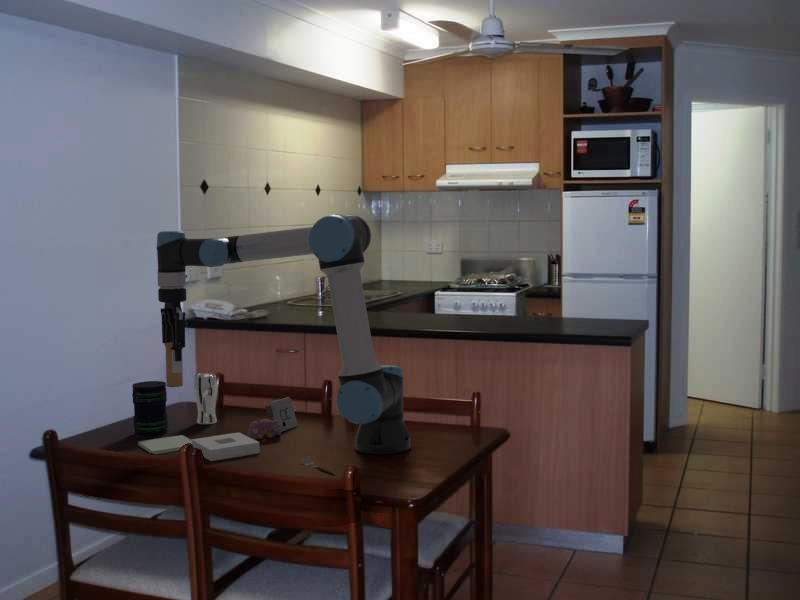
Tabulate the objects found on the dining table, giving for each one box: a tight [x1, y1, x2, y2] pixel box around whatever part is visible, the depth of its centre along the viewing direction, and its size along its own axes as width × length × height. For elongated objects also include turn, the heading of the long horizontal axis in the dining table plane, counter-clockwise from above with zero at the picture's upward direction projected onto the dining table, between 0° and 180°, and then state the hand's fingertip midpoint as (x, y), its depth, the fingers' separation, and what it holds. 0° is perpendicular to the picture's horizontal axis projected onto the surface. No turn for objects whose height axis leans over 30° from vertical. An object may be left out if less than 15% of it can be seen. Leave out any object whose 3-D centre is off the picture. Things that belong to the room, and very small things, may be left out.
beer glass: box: [193, 372, 218, 425], centre depth 291 cm, size 7×7×15 cm
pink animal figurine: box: [246, 418, 282, 440], centre depth 271 cm, size 10×5×7 cm, turn 106°
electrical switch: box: [264, 396, 298, 433], centre depth 282 cm, size 9×5×9 cm, turn 152°
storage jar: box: [131, 380, 169, 439], centre depth 278 cm, size 10×10×15 cm
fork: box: [300, 455, 336, 476], centre depth 238 cm, size 3×16×2 cm, turn 34°
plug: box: [164, 342, 184, 388], centre depth 259 cm, size 4×4×12 cm
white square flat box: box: [191, 432, 261, 462], centre depth 256 cm, size 14×14×3 cm
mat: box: [137, 434, 192, 455], centre depth 263 cm, size 13×13×1 cm
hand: (174, 371), depth 260 cm, fingers closed on plug, 4 cm apart
